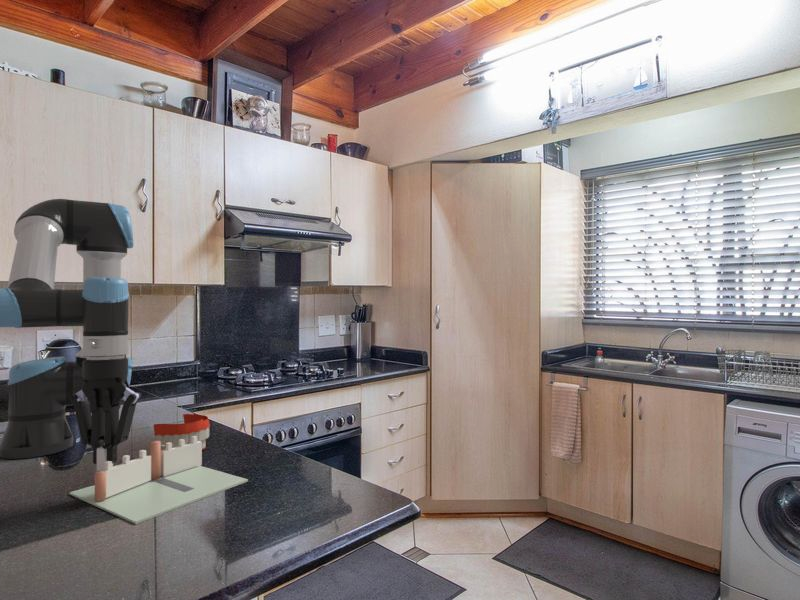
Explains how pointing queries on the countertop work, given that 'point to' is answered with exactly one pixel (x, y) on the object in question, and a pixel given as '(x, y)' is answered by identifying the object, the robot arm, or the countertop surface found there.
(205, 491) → the card
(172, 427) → the toy
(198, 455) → the fixed fence
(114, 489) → the swing panel
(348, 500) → the countertop surface
